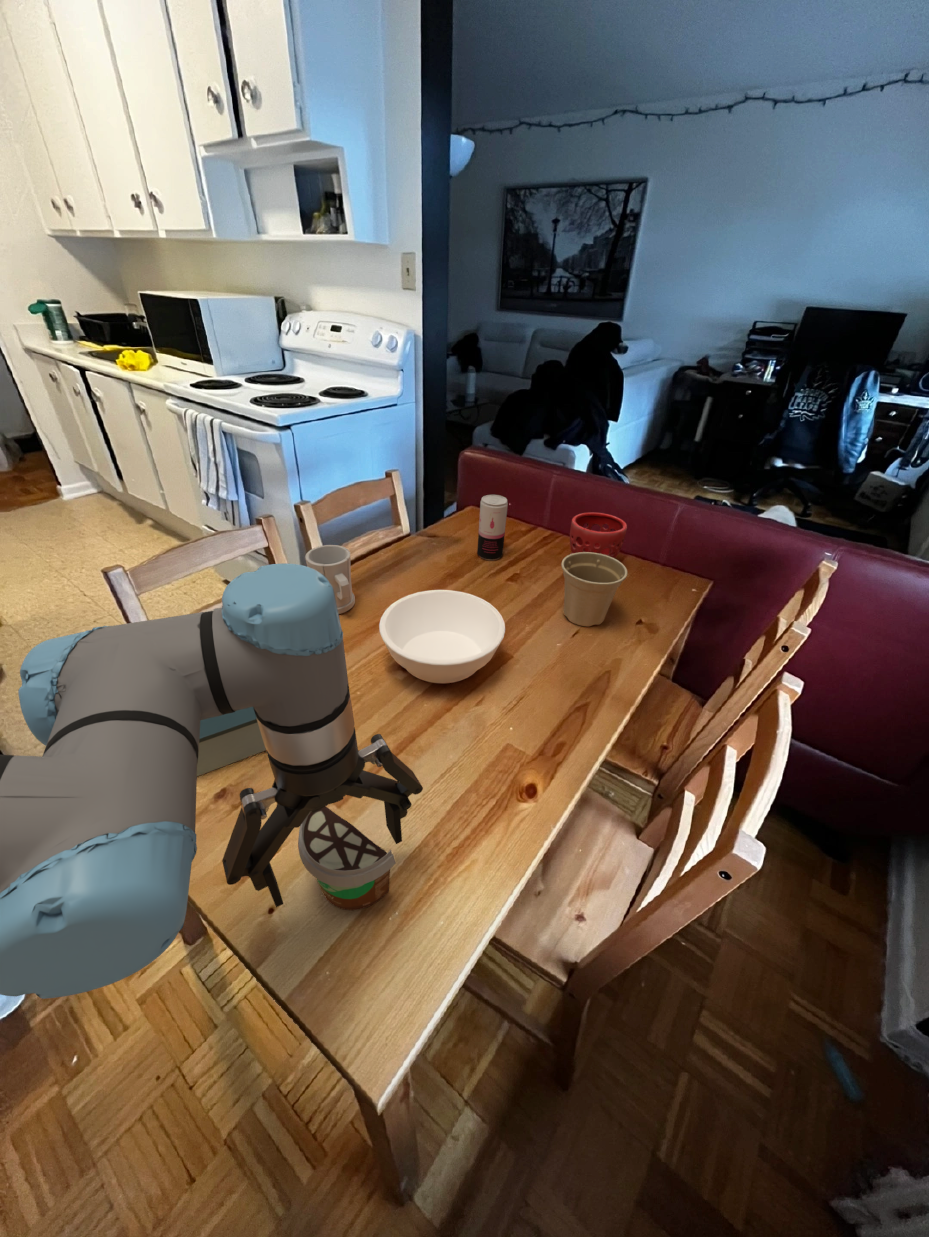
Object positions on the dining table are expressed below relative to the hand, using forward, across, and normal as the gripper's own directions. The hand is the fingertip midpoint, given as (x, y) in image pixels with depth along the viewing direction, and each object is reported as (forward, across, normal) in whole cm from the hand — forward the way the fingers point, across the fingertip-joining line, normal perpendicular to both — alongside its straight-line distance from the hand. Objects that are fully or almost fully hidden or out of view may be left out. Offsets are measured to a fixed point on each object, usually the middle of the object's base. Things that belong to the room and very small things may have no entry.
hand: (338, 862), depth 56 cm
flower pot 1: (+7, -82, -45) cm, 94 cm away
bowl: (+6, -31, -31) cm, 44 cm away
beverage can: (+7, -62, -61) cm, 87 cm away
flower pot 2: (+7, -65, -29) cm, 71 cm away
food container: (+6, 0, 0) cm, 6 cm away
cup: (+6, -20, -57) cm, 61 cm away
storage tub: (+6, +5, -32) cm, 33 cm away
